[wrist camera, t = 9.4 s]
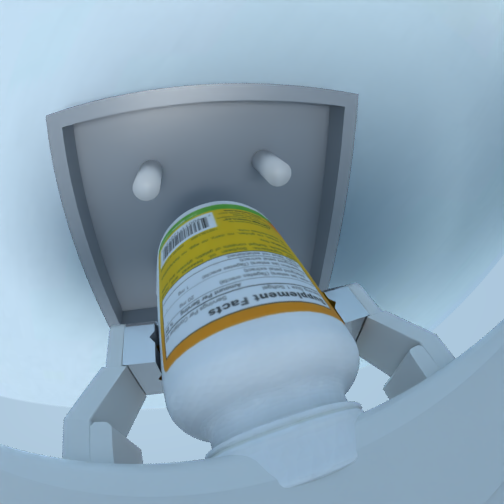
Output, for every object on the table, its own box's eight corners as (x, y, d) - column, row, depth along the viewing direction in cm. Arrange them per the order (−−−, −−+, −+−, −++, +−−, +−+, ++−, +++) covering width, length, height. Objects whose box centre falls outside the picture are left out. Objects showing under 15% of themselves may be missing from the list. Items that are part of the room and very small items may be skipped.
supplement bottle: (256, 301, 14) (336, 477, 6) (152, 297, 12) (179, 515, 4) (291, 208, 12) (452, 400, 4) (166, 188, 10) (202, 503, 2)
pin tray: (333, 91, 13) (370, 96, 11) (310, 280, 21) (330, 310, 18) (65, 110, 10) (36, 118, 7) (117, 310, 18) (113, 347, 15)
